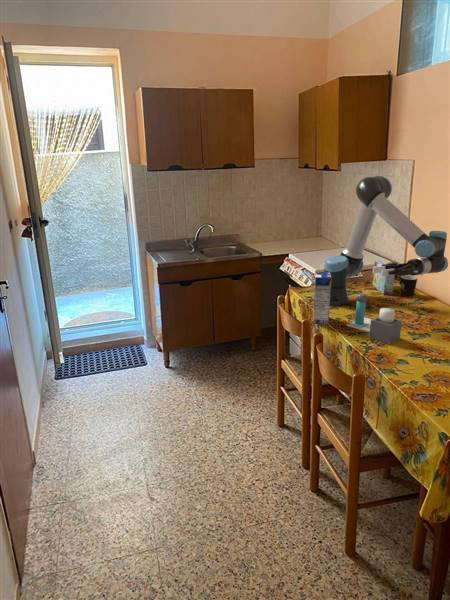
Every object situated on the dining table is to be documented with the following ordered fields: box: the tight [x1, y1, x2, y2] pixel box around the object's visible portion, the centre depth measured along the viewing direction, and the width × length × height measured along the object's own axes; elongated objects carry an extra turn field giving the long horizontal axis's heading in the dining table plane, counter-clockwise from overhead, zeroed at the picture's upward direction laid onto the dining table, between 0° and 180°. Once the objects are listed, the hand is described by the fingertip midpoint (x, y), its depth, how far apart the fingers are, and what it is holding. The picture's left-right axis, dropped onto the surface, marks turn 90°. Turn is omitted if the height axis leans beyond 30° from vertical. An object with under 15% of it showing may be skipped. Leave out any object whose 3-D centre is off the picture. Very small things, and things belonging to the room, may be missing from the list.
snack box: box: [371, 259, 396, 296], centre depth 254 cm, size 21×6×15 cm, turn 179°
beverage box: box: [312, 271, 332, 326], centre depth 205 cm, size 7×11×22 cm, turn 169°
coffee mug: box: [398, 275, 419, 298], centre depth 245 cm, size 12×9×10 cm
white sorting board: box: [346, 316, 373, 334], centre depth 202 cm, size 14×14×1 cm
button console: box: [368, 316, 403, 345], centre depth 187 cm, size 9×9×8 cm
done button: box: [378, 307, 396, 324], centre depth 185 cm, size 6×6×5 cm
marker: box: [354, 293, 368, 325], centre depth 200 cm, size 4×4×13 cm
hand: (377, 271), depth 198 cm, fingers open, 5 cm apart
